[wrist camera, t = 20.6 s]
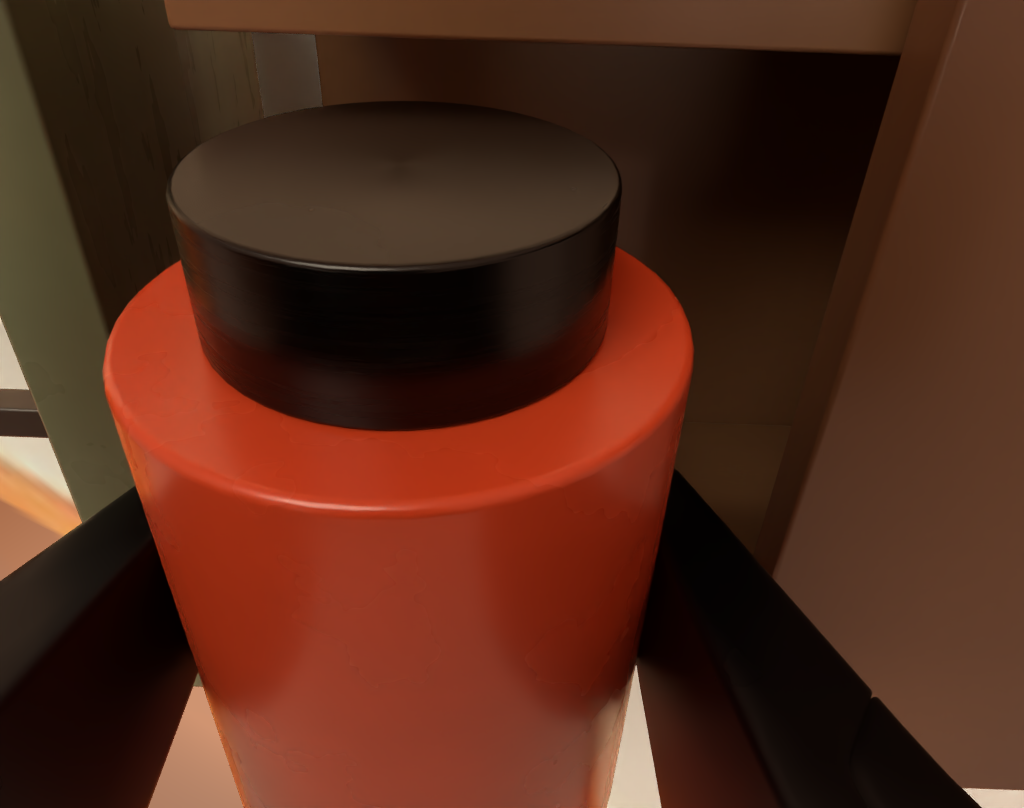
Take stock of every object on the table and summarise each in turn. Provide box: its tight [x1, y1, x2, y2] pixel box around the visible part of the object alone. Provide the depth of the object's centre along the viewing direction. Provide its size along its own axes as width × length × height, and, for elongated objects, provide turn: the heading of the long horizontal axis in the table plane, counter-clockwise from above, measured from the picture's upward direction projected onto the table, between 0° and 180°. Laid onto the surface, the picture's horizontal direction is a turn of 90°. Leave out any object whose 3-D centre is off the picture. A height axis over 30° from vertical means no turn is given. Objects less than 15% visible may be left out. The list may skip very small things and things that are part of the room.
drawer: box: [0, 0, 918, 687], centre depth 12 cm, size 17×11×7 cm, turn 88°
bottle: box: [102, 101, 694, 808], centre depth 8 cm, size 8×5×5 cm, turn 179°
